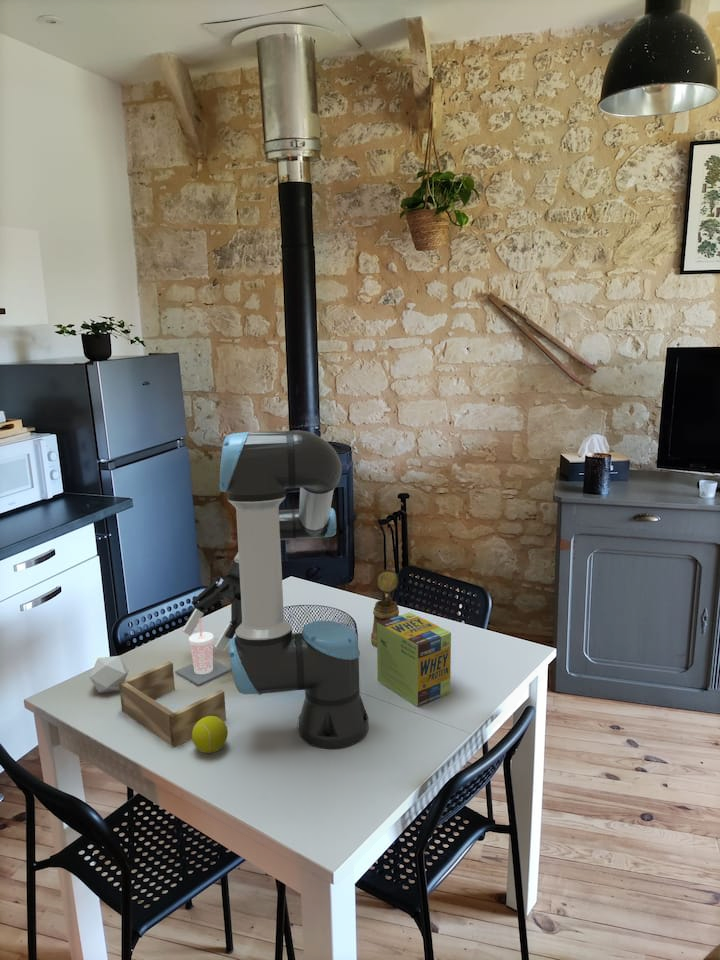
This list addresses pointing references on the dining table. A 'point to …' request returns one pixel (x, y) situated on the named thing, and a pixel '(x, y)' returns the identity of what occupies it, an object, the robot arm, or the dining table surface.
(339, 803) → the dining table surface
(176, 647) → the dining table surface
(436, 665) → the protein box
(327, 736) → the robot arm
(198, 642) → the beverage cup
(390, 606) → the gold trophy
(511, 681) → the dining table surface
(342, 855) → the dining table surface
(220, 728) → the tennis ball
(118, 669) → the die
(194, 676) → the coaster
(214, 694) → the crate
